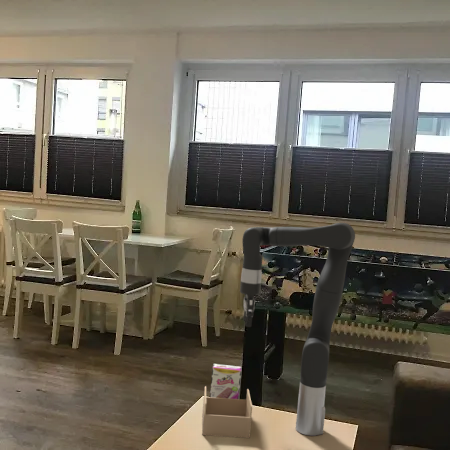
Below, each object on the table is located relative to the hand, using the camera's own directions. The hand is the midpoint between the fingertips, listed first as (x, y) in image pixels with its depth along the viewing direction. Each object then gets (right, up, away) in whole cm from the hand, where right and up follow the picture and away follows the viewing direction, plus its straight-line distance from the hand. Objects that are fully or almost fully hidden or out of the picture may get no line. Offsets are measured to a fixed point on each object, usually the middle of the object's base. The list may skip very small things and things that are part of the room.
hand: (247, 323), depth 211 cm
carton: (-8, -34, -11) cm, 37 cm away
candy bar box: (-9, -33, +5) cm, 35 cm away
